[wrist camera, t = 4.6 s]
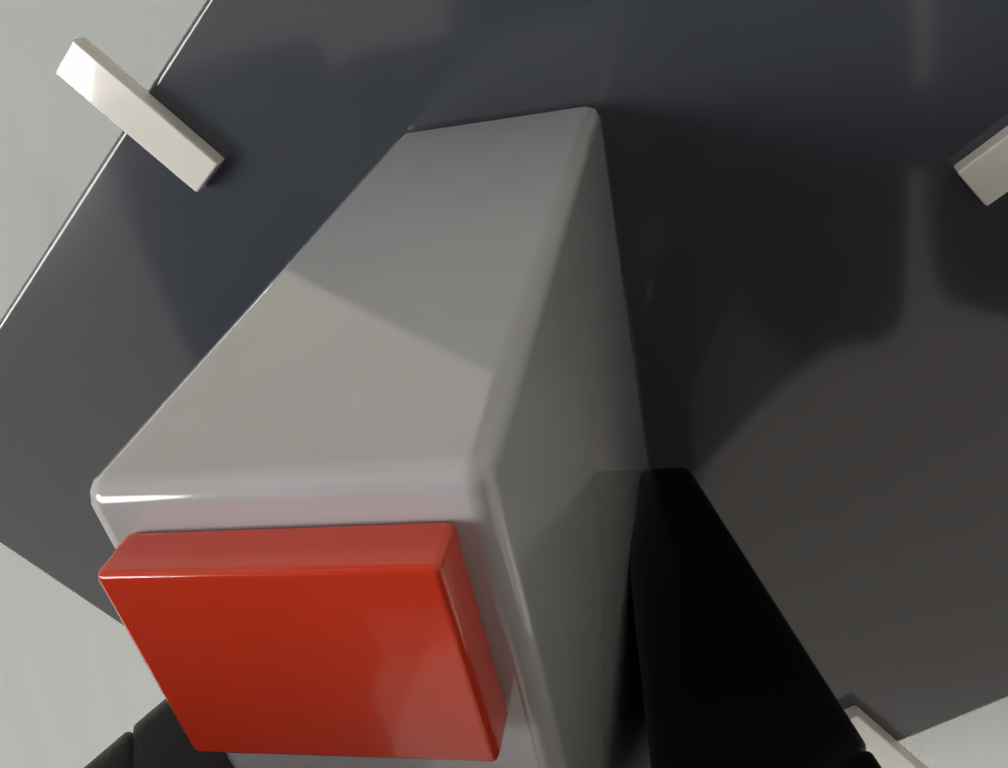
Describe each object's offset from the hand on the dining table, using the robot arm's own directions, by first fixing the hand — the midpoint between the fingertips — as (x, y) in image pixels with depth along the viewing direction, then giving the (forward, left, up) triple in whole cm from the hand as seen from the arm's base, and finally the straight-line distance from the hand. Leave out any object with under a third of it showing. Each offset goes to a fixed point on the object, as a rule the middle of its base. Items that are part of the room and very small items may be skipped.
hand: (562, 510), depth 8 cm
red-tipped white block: (0, 0, 0) cm, 0 cm away
